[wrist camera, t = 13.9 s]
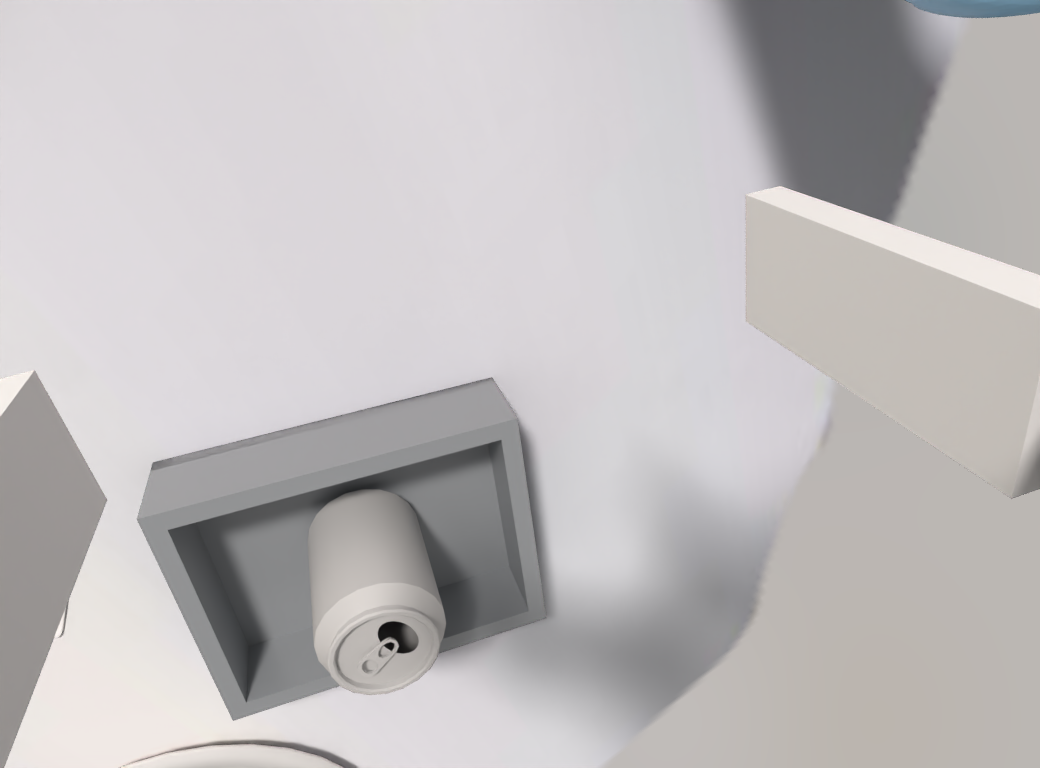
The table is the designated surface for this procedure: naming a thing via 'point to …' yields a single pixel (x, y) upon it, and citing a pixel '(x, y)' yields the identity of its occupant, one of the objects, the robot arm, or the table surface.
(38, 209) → the table surface
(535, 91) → the table surface
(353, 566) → the can
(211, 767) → the plated food
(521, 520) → the bin
